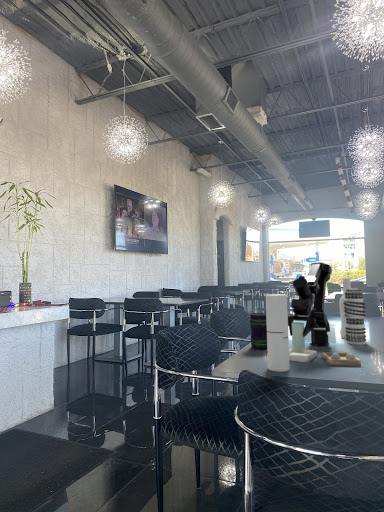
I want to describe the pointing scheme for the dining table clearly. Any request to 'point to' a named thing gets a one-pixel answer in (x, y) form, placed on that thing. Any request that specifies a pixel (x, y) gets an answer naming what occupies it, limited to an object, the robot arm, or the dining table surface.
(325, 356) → the wooden tray
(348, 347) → the dining table surface
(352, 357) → the pebble
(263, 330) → the storage jar
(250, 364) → the dining table surface
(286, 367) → the cylindrical container
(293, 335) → the sage green tall cylinder
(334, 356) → the white ball
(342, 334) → the bottle
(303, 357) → the white tray
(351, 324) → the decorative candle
